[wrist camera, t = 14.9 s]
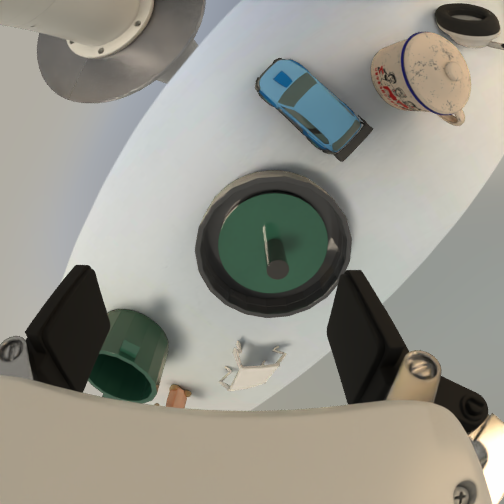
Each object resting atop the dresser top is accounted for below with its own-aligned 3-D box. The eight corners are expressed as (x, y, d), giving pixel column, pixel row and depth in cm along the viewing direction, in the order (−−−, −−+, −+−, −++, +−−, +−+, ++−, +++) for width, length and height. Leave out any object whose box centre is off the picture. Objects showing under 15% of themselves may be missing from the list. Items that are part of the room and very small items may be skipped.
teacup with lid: (353, 73, 27) (400, 59, 17) (393, 32, 24) (445, 11, 13) (416, 142, 30) (474, 159, 20) (450, 100, 27) (510, 106, 17)
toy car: (281, 54, 26) (288, 42, 21) (357, 123, 30) (377, 126, 25) (247, 89, 28) (247, 84, 23) (326, 157, 32) (340, 165, 27)
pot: (93, 349, 46) (75, 386, 38) (113, 284, 39) (87, 324, 31) (151, 378, 49) (140, 417, 41) (186, 321, 43) (175, 368, 34)
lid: (200, 259, 37) (191, 287, 31) (255, 169, 32) (257, 181, 26) (286, 303, 40) (291, 334, 35) (346, 227, 35) (364, 250, 29)
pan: (177, 262, 38) (171, 277, 34) (248, 141, 31) (248, 144, 27) (289, 317, 42) (292, 335, 39) (367, 220, 35) (379, 232, 32)
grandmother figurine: (199, 391, 51) (191, 446, 40) (192, 400, 52) (184, 452, 41) (162, 377, 49) (149, 432, 38) (157, 386, 51) (143, 439, 39)
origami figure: (245, 325, 43) (244, 348, 38) (287, 346, 45) (291, 368, 41) (206, 366, 47) (203, 387, 43) (246, 383, 49) (246, 404, 45)
